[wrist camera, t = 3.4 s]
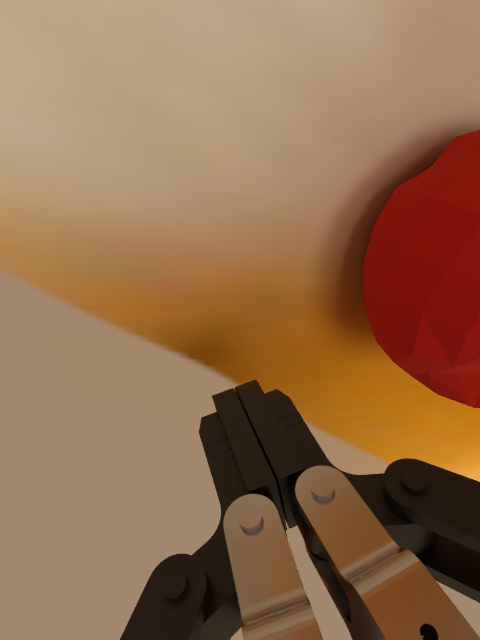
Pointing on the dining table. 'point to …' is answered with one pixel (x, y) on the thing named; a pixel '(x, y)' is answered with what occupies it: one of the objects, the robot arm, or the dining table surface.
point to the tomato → (431, 274)
